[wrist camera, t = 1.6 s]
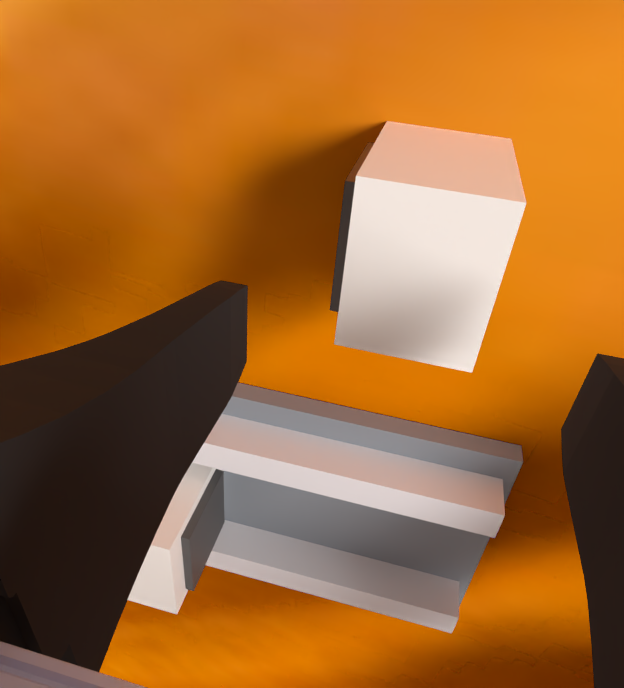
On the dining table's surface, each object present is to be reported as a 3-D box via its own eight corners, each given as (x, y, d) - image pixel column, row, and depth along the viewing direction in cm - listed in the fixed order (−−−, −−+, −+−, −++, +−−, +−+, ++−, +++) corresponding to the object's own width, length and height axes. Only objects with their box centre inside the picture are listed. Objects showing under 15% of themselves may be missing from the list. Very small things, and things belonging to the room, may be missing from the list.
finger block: (511, 138, 17) (526, 202, 13) (471, 277, 20) (472, 372, 15) (375, 119, 18) (339, 172, 13) (355, 256, 21) (321, 341, 16)
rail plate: (521, 445, 24) (536, 591, 18) (457, 595, 31) (453, 734, 25) (142, 361, 27) (54, 465, 21) (161, 516, 34) (99, 626, 28)
